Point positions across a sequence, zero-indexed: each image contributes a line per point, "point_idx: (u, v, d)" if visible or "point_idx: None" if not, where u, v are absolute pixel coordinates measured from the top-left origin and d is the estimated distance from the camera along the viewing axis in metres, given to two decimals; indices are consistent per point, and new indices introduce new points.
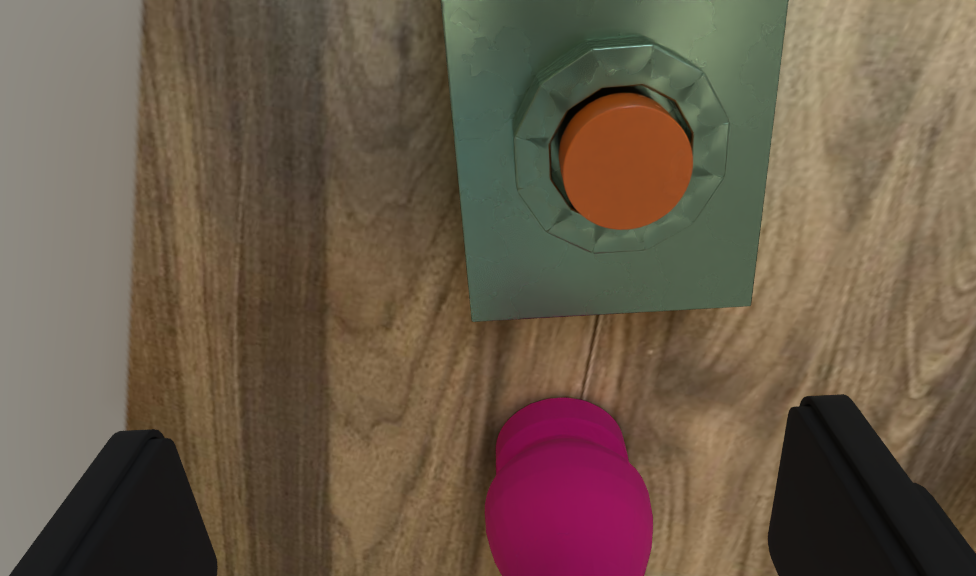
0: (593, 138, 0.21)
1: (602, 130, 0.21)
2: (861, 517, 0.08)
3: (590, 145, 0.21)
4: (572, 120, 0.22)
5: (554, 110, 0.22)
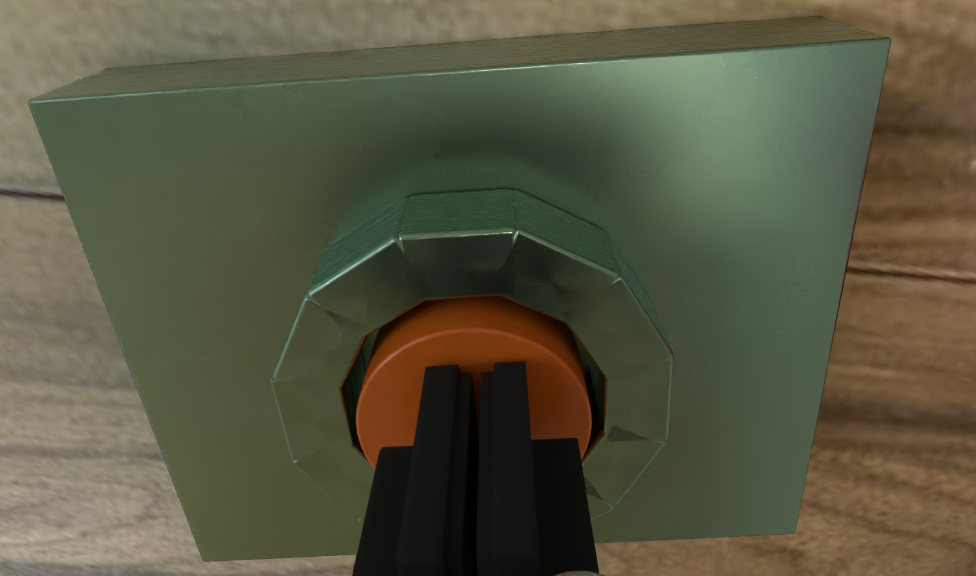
0: None
1: None
2: (481, 460, 0.09)
3: None
4: None
5: None
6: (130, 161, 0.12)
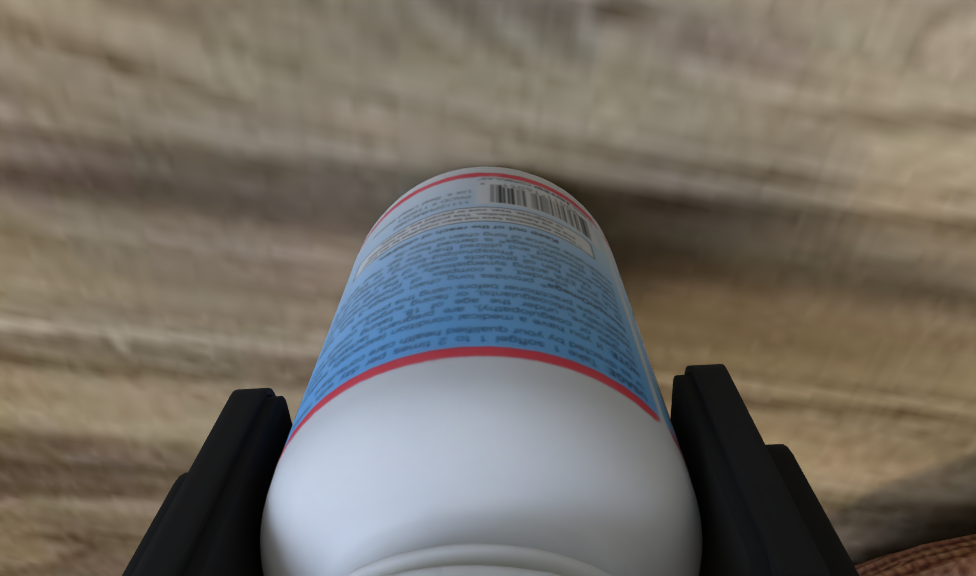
0: None
1: None
2: (713, 469, 0.09)
3: None
4: None
5: None
6: None
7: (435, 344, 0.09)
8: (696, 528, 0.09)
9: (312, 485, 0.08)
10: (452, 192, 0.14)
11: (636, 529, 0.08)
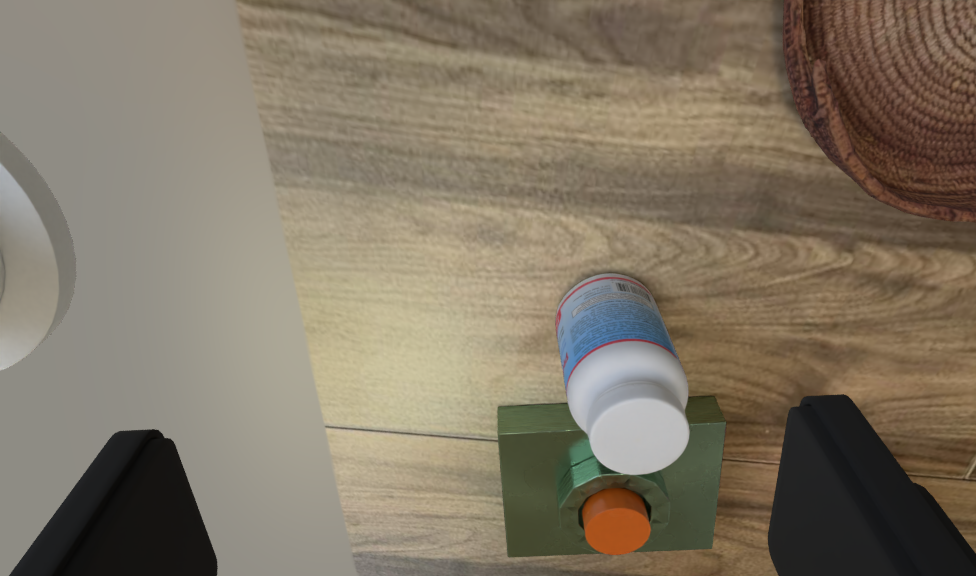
0: (599, 545, 0.43)
1: (596, 542, 0.43)
2: (861, 517, 0.08)
3: (603, 546, 0.43)
4: None
5: None
6: (521, 447, 0.43)
7: (619, 338, 0.34)
8: (686, 385, 0.34)
9: (593, 372, 0.33)
10: (603, 286, 0.39)
11: (672, 382, 0.33)
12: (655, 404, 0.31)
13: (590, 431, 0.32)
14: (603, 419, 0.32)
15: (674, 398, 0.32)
